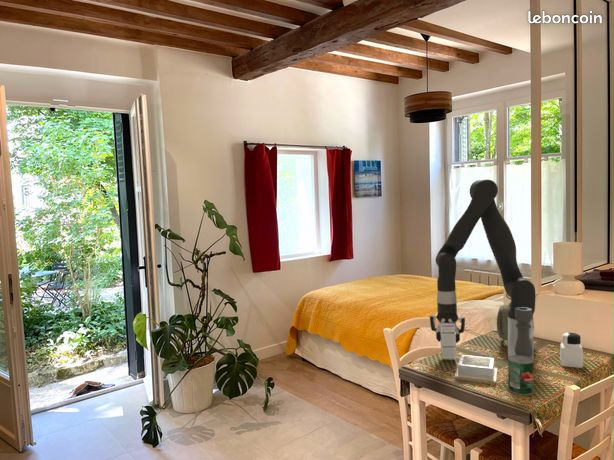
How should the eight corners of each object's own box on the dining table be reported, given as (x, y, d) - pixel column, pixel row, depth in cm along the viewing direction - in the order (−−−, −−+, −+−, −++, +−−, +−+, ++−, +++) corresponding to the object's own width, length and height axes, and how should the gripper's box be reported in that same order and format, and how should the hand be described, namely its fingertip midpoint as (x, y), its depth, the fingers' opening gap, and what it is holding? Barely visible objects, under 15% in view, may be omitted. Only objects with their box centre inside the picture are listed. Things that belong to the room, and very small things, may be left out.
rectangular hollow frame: (497, 370, 175) (497, 357, 175) (495, 384, 163) (495, 370, 162) (459, 365, 181) (458, 353, 181) (454, 378, 169) (454, 365, 168)
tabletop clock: (533, 346, 202) (533, 289, 201) (533, 352, 194) (533, 293, 192) (497, 342, 208) (497, 288, 207) (496, 348, 200) (496, 291, 199)
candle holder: (532, 380, 165) (531, 311, 163) (513, 377, 168) (512, 309, 166) (534, 374, 170) (533, 307, 168) (515, 371, 173) (515, 306, 172)
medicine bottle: (581, 362, 181) (581, 332, 180) (583, 368, 174) (583, 337, 174) (560, 360, 184) (560, 330, 183) (561, 366, 177) (561, 335, 177)
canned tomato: (509, 384, 162) (509, 353, 161) (534, 388, 158) (534, 356, 157) (506, 392, 155) (506, 360, 155) (532, 397, 151) (532, 364, 151)
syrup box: (456, 359, 184) (455, 323, 184) (441, 358, 186) (440, 323, 185) (455, 354, 190) (454, 319, 189) (440, 354, 191) (439, 319, 190)
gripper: (466, 300, 187) (467, 340, 188) (430, 298, 193) (431, 337, 194) (464, 304, 180) (465, 346, 181) (427, 302, 186) (428, 343, 187)
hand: (448, 341), depth 187 cm, fingers closed on syrup box, 6 cm apart
